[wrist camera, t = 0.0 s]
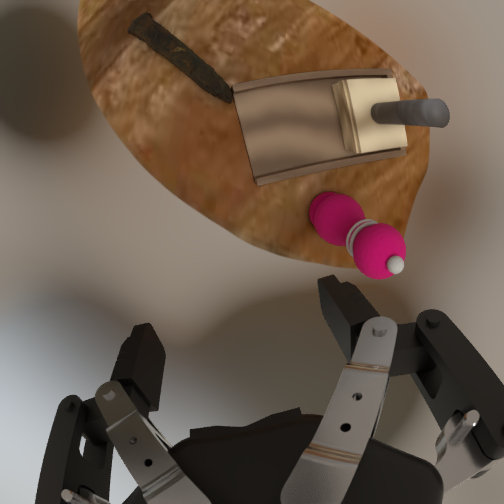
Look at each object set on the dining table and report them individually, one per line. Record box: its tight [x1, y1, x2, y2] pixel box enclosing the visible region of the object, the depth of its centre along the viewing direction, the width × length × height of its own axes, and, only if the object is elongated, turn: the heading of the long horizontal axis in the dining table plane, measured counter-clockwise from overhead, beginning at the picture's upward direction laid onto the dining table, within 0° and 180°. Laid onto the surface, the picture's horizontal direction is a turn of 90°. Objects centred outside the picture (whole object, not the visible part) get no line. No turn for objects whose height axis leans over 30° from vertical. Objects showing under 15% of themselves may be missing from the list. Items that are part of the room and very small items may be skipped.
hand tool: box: [127, 13, 232, 103], centre depth 29 cm, size 19×4×5 cm, turn 41°
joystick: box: [332, 78, 450, 153], centre depth 28 cm, size 10×8×17 cm
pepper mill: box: [309, 192, 406, 279], centre depth 33 cm, size 7×7×20 cm
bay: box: [231, 69, 406, 186], centre depth 35 cm, size 14×24×3 cm, turn 103°
